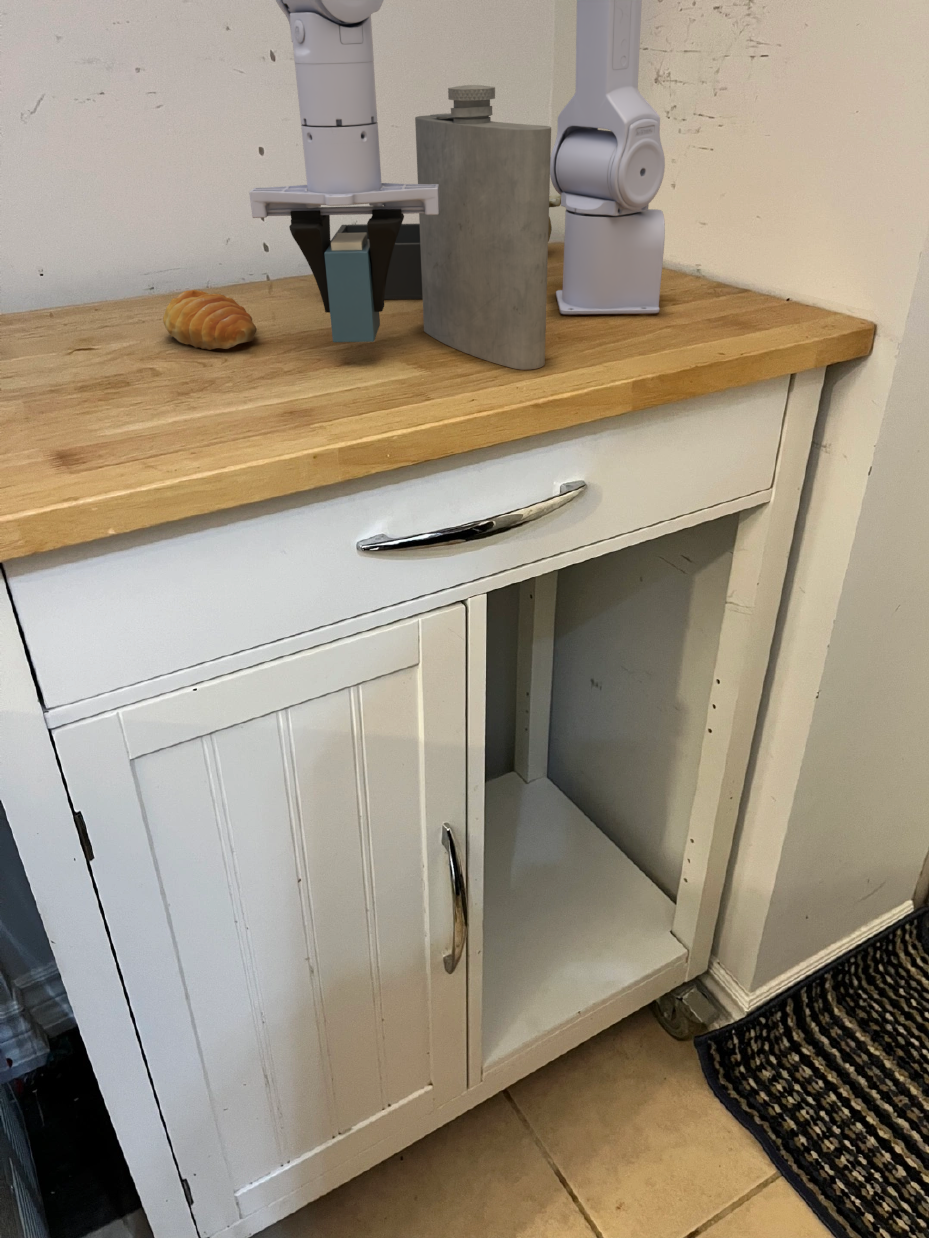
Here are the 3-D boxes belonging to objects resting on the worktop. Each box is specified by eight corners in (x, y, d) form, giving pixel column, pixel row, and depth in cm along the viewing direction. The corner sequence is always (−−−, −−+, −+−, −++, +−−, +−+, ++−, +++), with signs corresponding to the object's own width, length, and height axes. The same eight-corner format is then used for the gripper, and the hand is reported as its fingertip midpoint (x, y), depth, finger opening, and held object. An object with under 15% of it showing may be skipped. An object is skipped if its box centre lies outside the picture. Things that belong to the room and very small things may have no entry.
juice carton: (380, 325, 81) (373, 231, 76) (374, 342, 76) (367, 243, 72) (340, 326, 81) (332, 231, 76) (332, 342, 76) (323, 244, 72)
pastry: (277, 342, 84) (271, 299, 82) (212, 360, 81) (204, 315, 78) (220, 323, 90) (214, 282, 88) (157, 339, 86) (149, 296, 84)
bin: (470, 273, 106) (470, 222, 103) (469, 298, 97) (468, 243, 94) (345, 275, 106) (341, 224, 103) (332, 300, 97) (327, 245, 94)
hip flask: (552, 364, 78) (561, 88, 67) (513, 374, 76) (516, 91, 65) (445, 323, 89) (438, 80, 78) (409, 331, 87) (397, 82, 76)
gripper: (230, 131, 67) (257, 323, 74) (433, 127, 66) (440, 321, 74) (251, 121, 73) (274, 301, 80) (438, 118, 72) (443, 298, 80)
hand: (354, 309), depth 77 cm, fingers closed on juice carton, 3 cm apart
